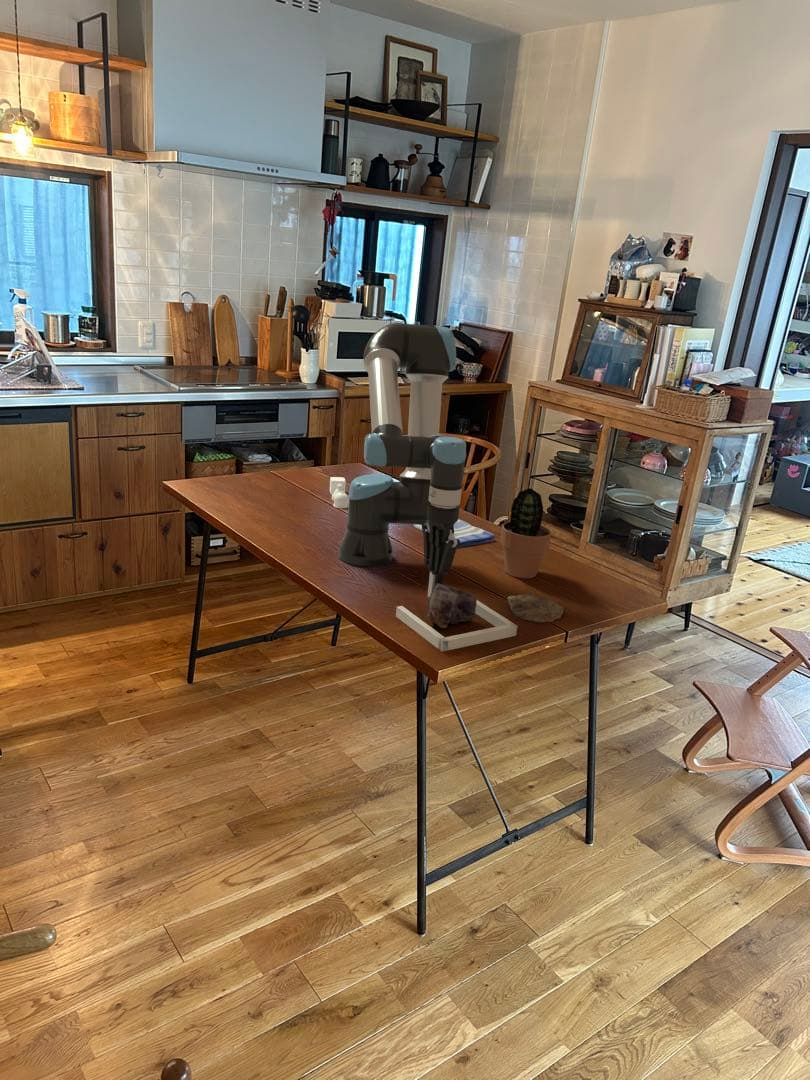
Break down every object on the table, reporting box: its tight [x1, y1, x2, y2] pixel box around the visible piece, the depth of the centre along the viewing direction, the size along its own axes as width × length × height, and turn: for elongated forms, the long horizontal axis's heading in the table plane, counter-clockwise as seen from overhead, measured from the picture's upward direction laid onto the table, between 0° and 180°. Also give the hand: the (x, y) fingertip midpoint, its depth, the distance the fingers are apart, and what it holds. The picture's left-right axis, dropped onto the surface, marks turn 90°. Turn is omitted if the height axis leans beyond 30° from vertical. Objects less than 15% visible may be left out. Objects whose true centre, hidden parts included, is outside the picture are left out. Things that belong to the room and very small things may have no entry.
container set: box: [329, 476, 349, 509], centre depth 280 cm, size 20×5×6 cm, turn 9°
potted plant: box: [500, 487, 553, 579], centre depth 225 cm, size 14×14×25 cm
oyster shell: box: [507, 591, 565, 623], centre depth 203 cm, size 11×15×6 cm
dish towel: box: [410, 518, 496, 548], centre depth 257 cm, size 17×24×3 cm
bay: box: [395, 599, 518, 653], centre depth 192 cm, size 20×21×2 cm
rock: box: [426, 583, 478, 629], centre depth 193 cm, size 12×9×10 cm
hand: (433, 596), depth 198 cm, fingers closed
